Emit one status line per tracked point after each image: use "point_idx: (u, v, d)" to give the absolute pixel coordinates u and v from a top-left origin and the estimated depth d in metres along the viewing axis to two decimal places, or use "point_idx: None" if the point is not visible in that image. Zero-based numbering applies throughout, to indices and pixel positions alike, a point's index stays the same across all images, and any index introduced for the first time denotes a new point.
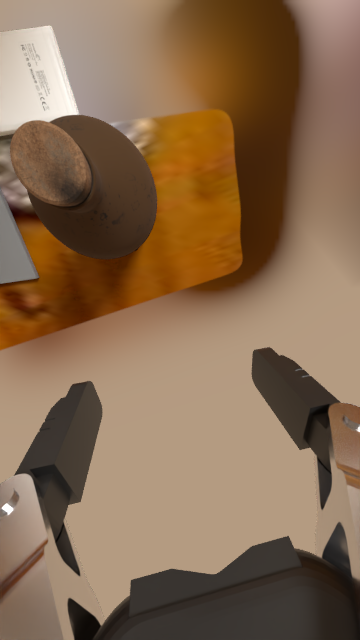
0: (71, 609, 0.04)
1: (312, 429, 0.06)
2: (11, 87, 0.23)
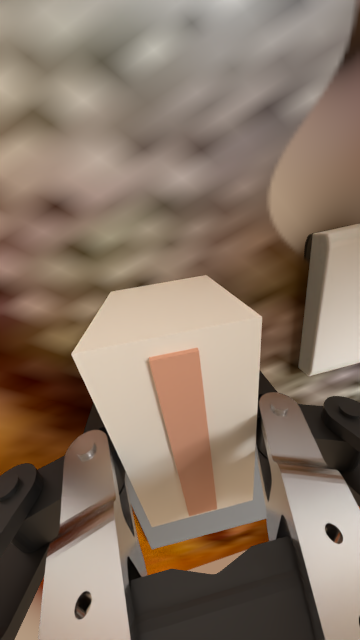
0: (127, 565, 0.04)
1: None
2: None
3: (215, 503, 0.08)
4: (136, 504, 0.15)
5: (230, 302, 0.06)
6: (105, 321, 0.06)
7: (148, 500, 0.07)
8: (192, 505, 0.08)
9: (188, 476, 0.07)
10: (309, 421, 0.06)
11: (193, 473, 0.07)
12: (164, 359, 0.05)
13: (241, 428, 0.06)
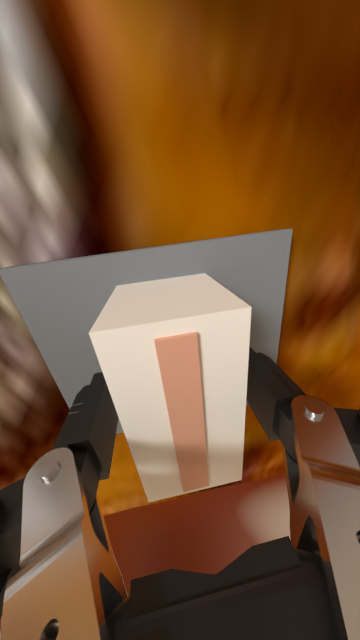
0: (101, 582, 0.04)
1: (279, 420, 0.07)
2: None
3: (207, 480, 0.09)
4: None
5: (225, 295, 0.07)
6: (115, 308, 0.07)
7: (146, 474, 0.08)
8: (186, 481, 0.08)
9: (184, 451, 0.07)
10: (345, 426, 0.06)
11: (188, 449, 0.07)
12: (167, 340, 0.05)
13: (232, 408, 0.07)
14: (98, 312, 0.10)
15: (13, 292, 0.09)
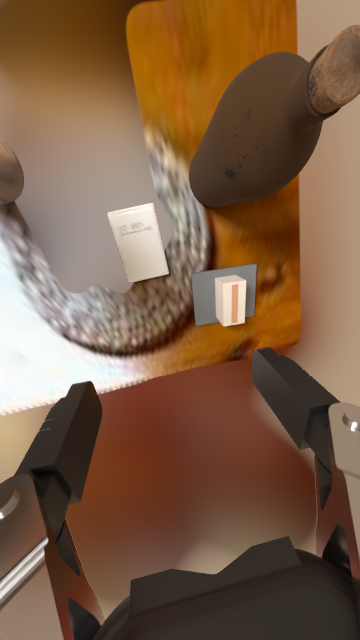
0: (71, 609, 0.04)
1: (312, 429, 0.06)
2: (143, 248, 0.36)
3: (237, 320, 0.39)
4: (218, 320, 0.45)
5: (241, 279, 0.37)
6: (222, 281, 0.37)
7: (225, 316, 0.39)
8: (232, 319, 0.39)
9: (233, 310, 0.38)
10: None
11: (234, 309, 0.38)
12: (233, 285, 0.36)
13: (243, 300, 0.38)
14: (209, 284, 0.41)
15: (192, 279, 0.40)
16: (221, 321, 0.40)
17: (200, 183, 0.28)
